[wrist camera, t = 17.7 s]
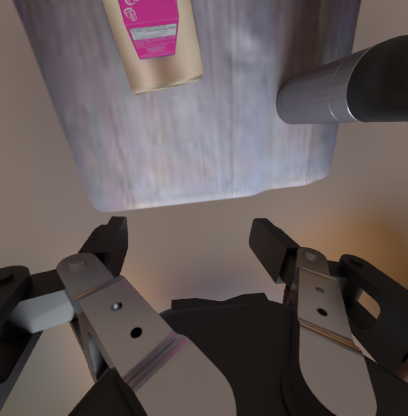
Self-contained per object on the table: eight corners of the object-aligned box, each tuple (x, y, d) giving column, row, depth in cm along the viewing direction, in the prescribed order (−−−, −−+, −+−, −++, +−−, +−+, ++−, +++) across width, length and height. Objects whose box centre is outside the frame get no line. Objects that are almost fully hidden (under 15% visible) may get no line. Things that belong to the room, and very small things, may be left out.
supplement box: (125, 10, 27) (101, -63, 16) (167, 6, 27) (169, -67, 17) (137, 61, 29) (124, 25, 19) (176, 56, 30) (183, 18, 19)
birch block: (181, -2, 32) (185, -29, 26) (197, 81, 37) (203, 73, 31) (109, 11, 31) (97, -14, 25) (136, 95, 36) (131, 89, 30)
